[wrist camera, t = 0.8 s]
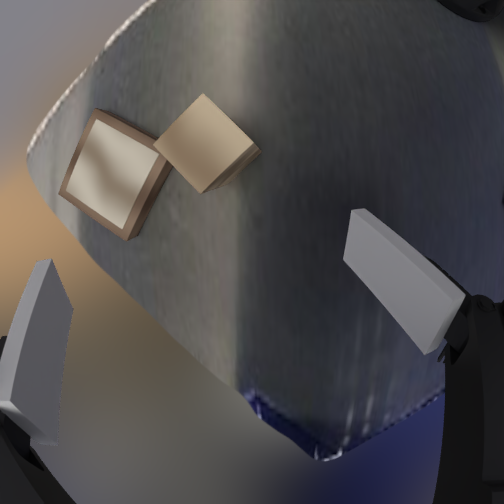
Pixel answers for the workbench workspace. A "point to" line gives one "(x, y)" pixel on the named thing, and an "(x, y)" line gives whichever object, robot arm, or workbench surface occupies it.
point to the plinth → (115, 174)
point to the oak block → (206, 146)
